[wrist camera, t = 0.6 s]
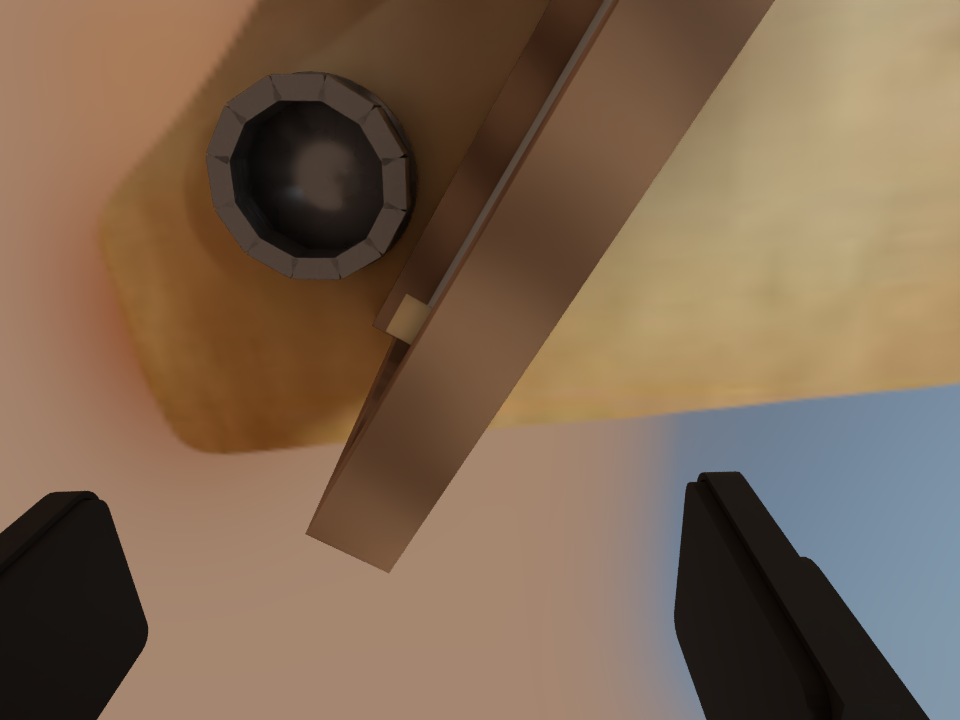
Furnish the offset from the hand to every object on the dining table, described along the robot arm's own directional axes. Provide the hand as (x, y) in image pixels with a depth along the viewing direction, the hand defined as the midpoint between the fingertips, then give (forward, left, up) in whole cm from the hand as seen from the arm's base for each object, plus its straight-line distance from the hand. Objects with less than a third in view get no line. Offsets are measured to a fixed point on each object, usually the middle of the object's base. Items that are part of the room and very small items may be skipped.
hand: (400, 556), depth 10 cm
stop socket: (+1, -9, -28) cm, 29 cm away
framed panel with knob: (-5, +1, -28) cm, 28 cm away
